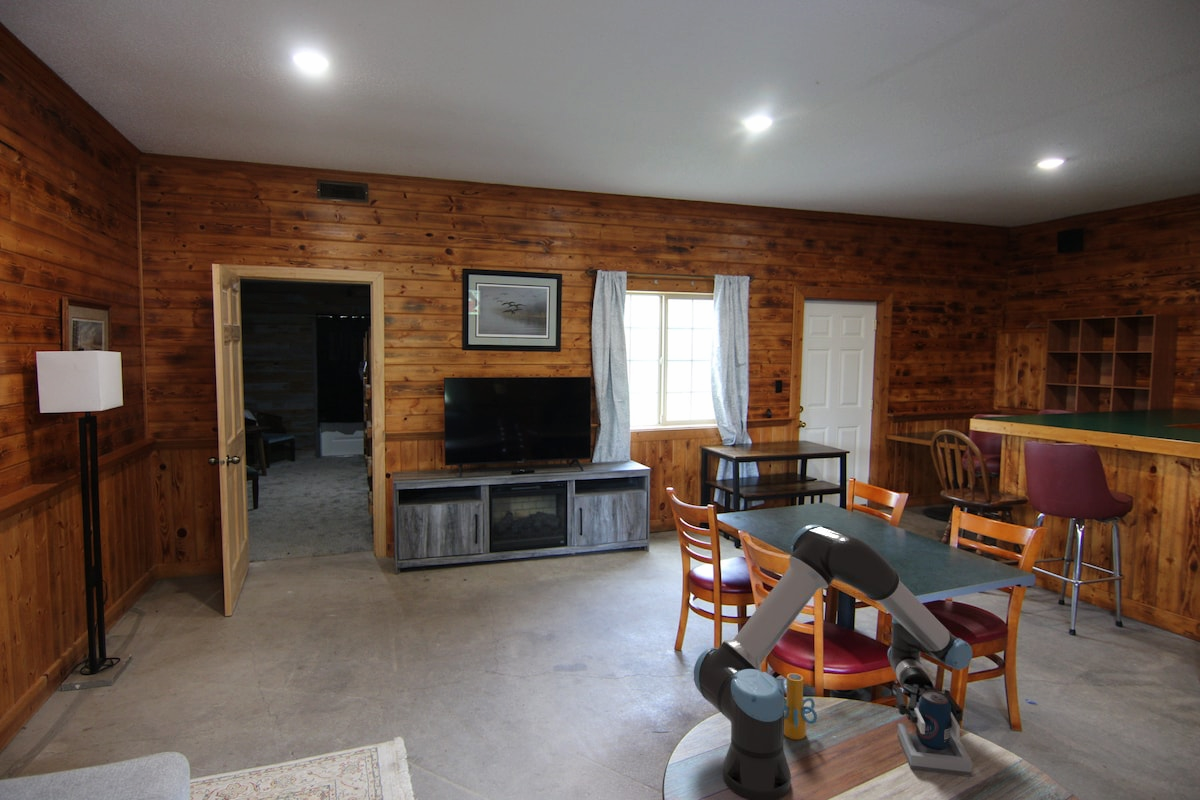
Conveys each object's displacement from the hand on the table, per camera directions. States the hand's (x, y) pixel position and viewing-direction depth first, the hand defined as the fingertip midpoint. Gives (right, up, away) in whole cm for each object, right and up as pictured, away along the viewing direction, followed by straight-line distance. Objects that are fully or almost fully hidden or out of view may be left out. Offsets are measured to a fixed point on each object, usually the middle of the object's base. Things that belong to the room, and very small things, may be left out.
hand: (940, 730), depth 153 cm
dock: (+1, -9, +6) cm, 11 cm away
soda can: (+1, -6, +5) cm, 8 cm away
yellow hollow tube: (-30, -9, +15) cm, 34 cm away
